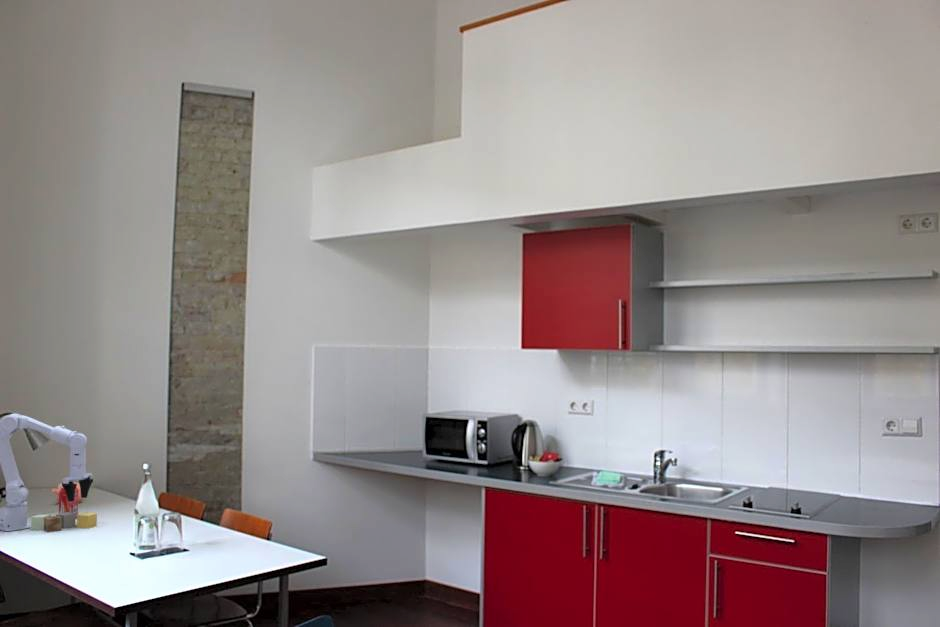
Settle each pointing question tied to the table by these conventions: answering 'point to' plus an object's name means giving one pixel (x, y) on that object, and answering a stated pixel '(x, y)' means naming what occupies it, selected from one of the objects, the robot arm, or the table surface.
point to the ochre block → (87, 520)
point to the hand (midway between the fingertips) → (77, 499)
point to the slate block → (67, 519)
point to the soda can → (68, 502)
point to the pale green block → (38, 522)
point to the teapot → (59, 489)
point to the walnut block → (53, 523)
